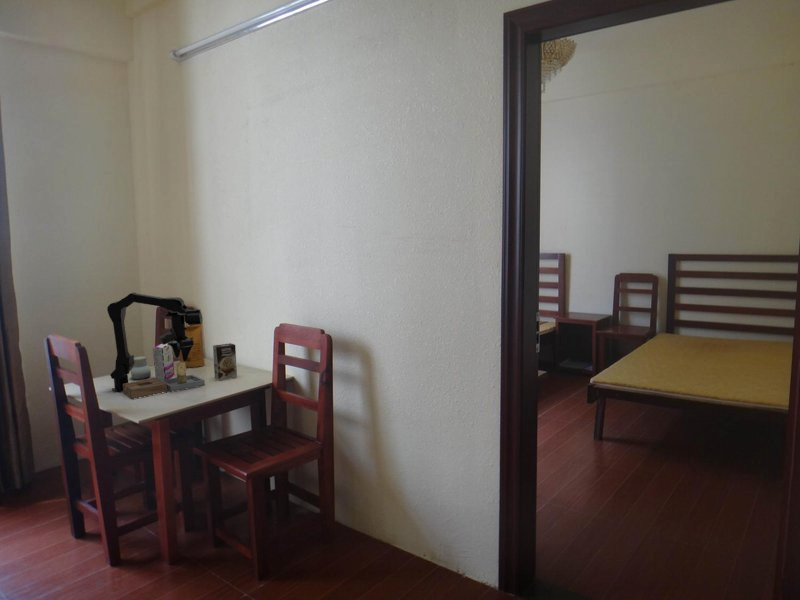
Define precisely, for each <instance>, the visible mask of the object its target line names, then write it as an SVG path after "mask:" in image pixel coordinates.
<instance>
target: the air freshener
mask: <svg viewBox="0 0 800 600" xmlns="http://www.w3.org/2000/svg"><path fill="white" fill-rule="evenodd" d="M134 362H135V364H134V366H133V368H132V369H131V370H130V374H131V378H132V379H133V380H144V379H148V378H149V377H150V376H151V374H152V372H151V366H150V365H148V362H147V357H146V356H137V357H135V356H134Z"/></svg>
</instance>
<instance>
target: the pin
mask: <svg viewBox="0 0 800 600" xmlns="http://www.w3.org/2000/svg"><path fill="white" fill-rule="evenodd" d="M175 369H176V370H175V371H176V378H177V383H178V385H179V384H184V383H187V378H186V376H187V370H186V369H187V368H186V366H185V362H180V361H179V362H178V361H177V362H176V363H175Z"/></svg>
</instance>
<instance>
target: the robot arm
mask: <svg viewBox="0 0 800 600" xmlns="http://www.w3.org/2000/svg"><path fill="white" fill-rule="evenodd" d="M134 303H137V304H143V305H150V306H155V307H161V308H162V309H166V310H168V313H166V314H165V317H170V324H171V325H170V326H171V327H170V328H169V331H168V332H166V333H164V334H161V335H159V336H158V337H157V338H158V340H159V343H160V344H164V345H165V344H168V345H170V346H171V347H172V352H173V355H174V356H175V359H178V358H179V354H180V350H181V353H182V358H183V361H186V360H187V357H188V355H189V352H190V350H191V348H192V347H193V345H194V341H193V340H192V339H189V338H187V336H186V332H185V330H187V327H185V326H186V324H187V326H193V325H199V324H201V325H203V315H202V314H203V313H202V312H201V311H202V310H201V309H193V310H192V309H191V310H190V309H189V307H187V305H186V304H185V301H184V299H182V298H181V297H177V296H176V297H173V296H172V297H160V296H155V295H149V294H148V295H147V294H143V293H137V292H131V293H129V294H127V295H126V296H125V297H123V298H122V299H120V300H117V301H114V302H112V303H109V305H108V306H107V314H108V316H109V319H110V321H111V322H112V326H113V330H114V331H113V332H114V340H115V348H116V358H115V367H114V370H113V371H112V372H111V373H110V374H109V375H110V377H111V379H113V385H114V386H113V388H112V391H114V392H116V393H120V392H123V384H125V383H129V374H130V373H131V369H132V368H133V366H134V364H135V362H134V358H135V356H134V354H130V352H129V349H128V347H129V346H128V341H127V340H128V339H127V333H126V326H125V319H126V314H127V308H128V307H129V306H131V305H132V304H134Z"/></svg>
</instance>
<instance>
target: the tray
mask: <svg viewBox="0 0 800 600" xmlns="http://www.w3.org/2000/svg"><path fill="white" fill-rule="evenodd" d="M186 378H187V383H184V384H179V385H178V383H177V377H171V378H169V379H166V380H161V381H163V382H164V383H166V386H167V389H168V390H170V391H171V392H170V391H169V392H170V393H173V392H172V391H174V392H178V391H177V390H179V391H183V390H182V389H184V390H187V389H186V388H189V389H192V388H191V387H194V388H196V386H198V387H202V386H201V385H203V386H205V385H206V384H205V379H204V378H201V377H199V376H197V375H195V374H188V375H187V374H186ZM168 390H167V391H168Z"/></svg>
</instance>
